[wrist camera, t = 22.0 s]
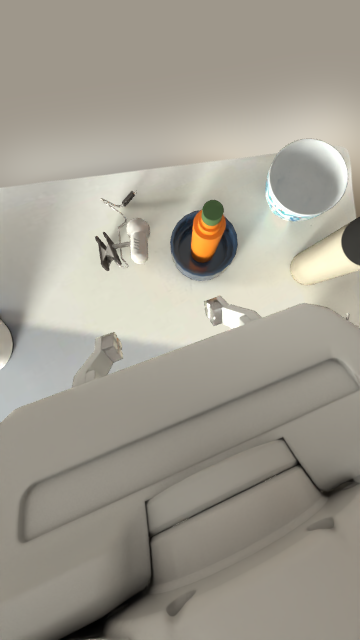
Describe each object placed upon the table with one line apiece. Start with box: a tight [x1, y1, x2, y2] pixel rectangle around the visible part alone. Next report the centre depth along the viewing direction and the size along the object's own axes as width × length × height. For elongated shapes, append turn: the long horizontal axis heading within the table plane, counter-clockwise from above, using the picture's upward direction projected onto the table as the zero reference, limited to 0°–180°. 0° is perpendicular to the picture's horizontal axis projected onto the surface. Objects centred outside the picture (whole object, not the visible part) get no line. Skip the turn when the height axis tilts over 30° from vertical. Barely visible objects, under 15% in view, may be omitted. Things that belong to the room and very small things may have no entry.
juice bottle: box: [191, 200, 226, 263], centre depth 33 cm, size 6×6×14 cm
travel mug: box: [290, 217, 360, 285], centre depth 31 cm, size 8×8×18 cm
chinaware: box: [266, 139, 348, 221], centre depth 36 cm, size 15×15×8 cm
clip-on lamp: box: [95, 191, 150, 271], centre depth 38 cm, size 12×6×18 cm
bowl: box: [170, 210, 238, 281], centre depth 38 cm, size 14×14×4 cm
